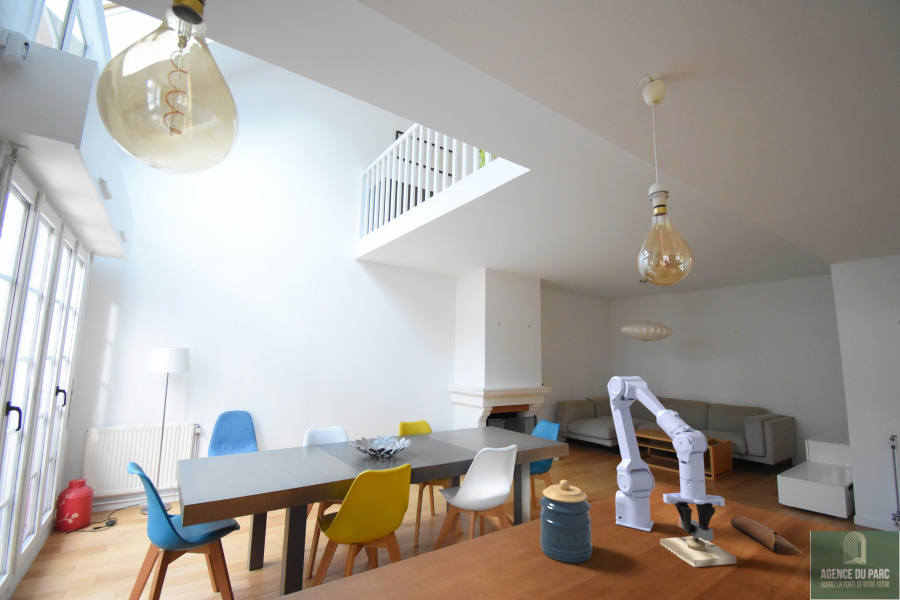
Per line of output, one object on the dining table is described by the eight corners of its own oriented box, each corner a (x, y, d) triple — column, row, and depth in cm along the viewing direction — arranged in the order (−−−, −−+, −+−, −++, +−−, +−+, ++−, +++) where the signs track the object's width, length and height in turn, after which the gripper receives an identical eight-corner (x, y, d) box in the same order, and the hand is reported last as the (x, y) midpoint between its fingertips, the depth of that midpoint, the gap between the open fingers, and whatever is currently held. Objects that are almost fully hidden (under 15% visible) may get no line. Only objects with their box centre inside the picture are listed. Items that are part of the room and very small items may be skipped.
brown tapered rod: (808, 554, 106) (792, 530, 107) (785, 568, 106) (769, 544, 107) (758, 526, 124) (745, 506, 125) (739, 538, 124) (726, 518, 125)
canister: (601, 551, 106) (598, 480, 109) (578, 570, 97) (576, 491, 99) (555, 536, 115) (554, 470, 117) (530, 551, 106) (529, 479, 108)
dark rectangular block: (705, 548, 102) (704, 530, 102) (678, 532, 111) (677, 516, 111) (714, 547, 102) (713, 529, 103) (686, 532, 111) (685, 515, 112)
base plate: (694, 567, 99) (693, 553, 99) (660, 544, 111) (659, 532, 111) (736, 563, 101) (735, 550, 102) (698, 541, 113) (698, 530, 113)
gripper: (670, 481, 105) (673, 538, 103) (730, 484, 104) (734, 541, 102) (658, 474, 112) (661, 527, 110) (714, 476, 111) (718, 529, 109)
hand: (695, 533), depth 107 cm, fingers closed on dark rectangular block, 3 cm apart
